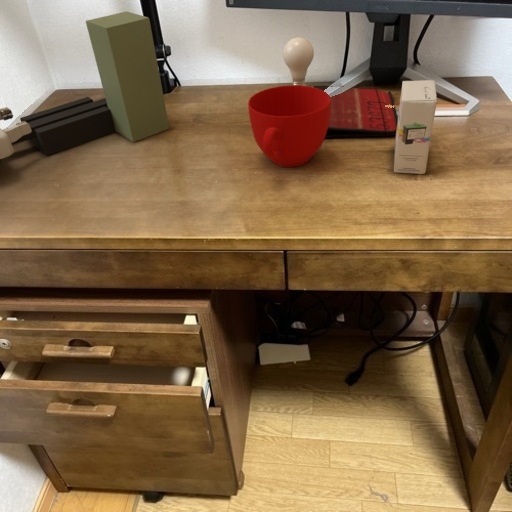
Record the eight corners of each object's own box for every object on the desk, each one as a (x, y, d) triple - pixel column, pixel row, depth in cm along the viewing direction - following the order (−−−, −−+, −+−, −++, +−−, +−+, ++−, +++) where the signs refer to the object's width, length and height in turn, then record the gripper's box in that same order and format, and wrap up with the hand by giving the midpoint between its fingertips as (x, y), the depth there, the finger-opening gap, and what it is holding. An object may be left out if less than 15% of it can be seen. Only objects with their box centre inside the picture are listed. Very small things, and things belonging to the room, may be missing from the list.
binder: (309, 126, 87) (312, 84, 103) (309, 138, 88) (311, 95, 105) (402, 128, 85) (390, 85, 102) (400, 141, 87) (388, 96, 103)
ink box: (393, 148, 84) (401, 78, 76) (424, 149, 83) (435, 79, 75) (392, 173, 77) (401, 99, 70) (425, 174, 76) (438, 100, 69)
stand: (113, 130, 97) (85, 20, 85) (148, 117, 101) (126, 11, 89) (133, 142, 92) (106, 28, 80) (169, 128, 96) (149, 17, 84)
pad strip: (-1, 143, 90) (-5, 132, 89) (117, 104, 101) (115, 94, 100) (4, 148, 88) (0, 137, 87) (124, 107, 99) (122, 98, 98)
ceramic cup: (230, 183, 78) (224, 123, 72) (268, 137, 90) (265, 82, 84) (309, 194, 74) (309, 132, 68) (337, 145, 86) (339, 88, 80)
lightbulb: (318, 88, 108) (319, 34, 101) (304, 98, 104) (304, 43, 97) (293, 84, 110) (292, 32, 104) (278, 94, 106) (276, 40, 100)
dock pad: (27, 139, 96) (19, 117, 93) (93, 117, 103) (87, 96, 100) (47, 156, 90) (38, 133, 87) (116, 131, 97) (110, 109, 94)
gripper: (-56, 146, 74) (34, 118, 80) (-85, 110, 87) (-5, 88, 93) (-37, 183, 78) (47, 153, 84) (-68, 143, 91) (8, 120, 97)
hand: (19, 119), depth 89 cm, fingers open, 8 cm apart
